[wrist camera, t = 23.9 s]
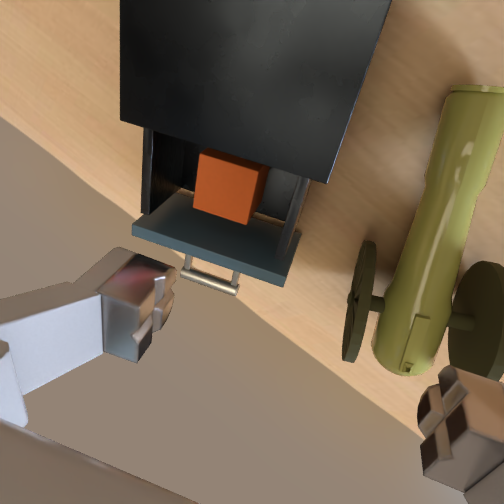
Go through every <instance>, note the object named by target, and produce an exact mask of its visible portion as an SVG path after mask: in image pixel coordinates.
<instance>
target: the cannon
mask: <svg viewBox="0 0 504 504" xmlns="http://www.w3.org/2000/svg"><path fill="white" fill-rule="evenodd" d="M450 91H452V93H451V94H450V95H448V96H447V97H446V98H445V102H444V105H443V109H442V113H441V116H440V120H439V124H438V127H437V131H436V135H435V138H434V142H433V146H432V149H431V153H430V157H429V160H428V164H427V168H426V171H425V175H424V176H425V188H424V191H423V194H422V197H421V199H420V202H419V205H418V208H417V211H416V214H415V216H414V219H413V222H412V225H411V228H410V231H409V233H408V236H407V239H406V242H405V245H404V248H403V250H402V253H401V256H400V259H399V262H398V265H397V267H396V270H395V273H394V276H393V279H392V281H391V282H390V284H389V285H388V286H387V288H386V289H385V292H384V295H383V297H378V296H374V295H372V290H373V283H374V275H375V266H376V244H375V242H372V241H366V240H364V241H363V243H362V246H361V249H360V252H359V256H358V259H357V263H356V267H355V272H354V276H353V281H352V286H351V291H350V293H349V294H348V299H347V303H348V307H347V313H346V320H345V327H344V334H343V344H342V360H343V361H347V362H351V363H354V362H355V360H356V358H357V356H358V353H359V350H360V347H361V343H362V340H363V336H364V332H365V327H366V323H367V318H368V313H369V310H371V311H375V312H379V314H378V318H377V322H376V326H375V329H374V333H373V337H372V341H371V347H372V351H373V354H374V356H375V358H376V359H377V360H378V362H379V363H380V364H381V365H382V366H383V367H384V368H385V369H387V370H388V371H390V372H392V373H394V374H397V375H400V376H408V377H409V376H417V375H421V374H423V373H425V372H426V371H428V370H429V369H430V368H431V367H432V366H433V364H434V361H435V358H436V355H437V353H438V350H439V347H440V344H441V341H442V338H443V336H444V333H445V330H446V327H449V332H448V352H449V361H450V365H452V366H455V367H458V368H460V369H463V370H466V371H469V372H472V373H475V374H478V375H481V376H484V377H486V378H489V379H492V380H494V381H499V380H500V378H501V377H502V375H503V373H504V267H503V266H501V265H500V264H497V263H493V262H487V261H480V262H477V263H475V264H474V265H472V266H471V268H470V269H469V270H468V271H467V272H466V274H465V275H464V277H463V279H462V281H461V283H460V285H459V287H458V290H457V292H456V295H455V298H454V302H453V306H452V294H453V290H454V286H455V282H456V278H457V274H458V270H459V267H460V263H461V259H462V255H463V251H464V247H465V243H466V239H467V236H468V232H469V228H470V224H471V220H472V216H473V212H474V208H475V205H476V201H477V197H478V195H479V193H480V192H481V191H482V190H483V188H484V187H485V186H486V183H487V180H488V177H489V174H490V171H491V168H492V165H493V162H494V159H495V156H496V153H497V150H498V148H499V145H500V142H501V139H502V136H503V133H504V87H496V86H483V85H452V86H451V89H450Z"/></svg>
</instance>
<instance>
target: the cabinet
mask: <svg viewBox="0 0 504 504" xmlns="http://www.w3.org/2000/svg"><path fill="white" fill-rule="evenodd" d="M391 2H392V0H120V120H121V121H124V122H127V123H131V124H134V125H137V126H140V127H144V128H147V129H150V130H153V131H156V132H160V133H163V134H166V135H169V136H173V137H176V138H179V139H182V140H186V141H189V142H192V143H195V144H198V145H202V146H205V147H208V148H211V149H215V150H218V151H221V152H224V153H227V154H231V155H234V156H237V157H240V158H244V159H247V160H250V161H253V162H257V163H260V164H263V165H266V166H269V167H273V168H276V169H279V170H282V171H286V172H289V173H292V174H295V175H298V176H302V177H305V178H308V179H311V180H315V181H318V182H321V183H324V184H327V183H328V181H329V178H330V175H331V172H332V170H333V167H334V164H335V161H336V158H337V155H338V153H339V150H340V147H341V144H342V141H343V138H344V136H345V133H346V130H347V127H348V124H349V121H350V119H351V116H352V113H353V110H354V107H355V104H356V102H357V99H358V96H359V93H360V90H361V87H362V84H363V82H364V79H365V76H366V73H367V70H368V67H369V65H370V62H371V59H372V56H373V53H374V50H375V48H376V45H377V42H378V39H379V36H380V33H381V31H382V28H383V25H384V22H385V19H386V16H387V14H388V11H389V8H390V5H391Z"/></svg>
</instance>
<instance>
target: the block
mask: <svg viewBox="0 0 504 504" xmlns="http://www.w3.org/2000/svg"><path fill="white" fill-rule="evenodd" d="M269 168H270V167H269V166H266V165H263V164H260V163H257V162H253V161H250V160H247V159H244V158H240V157H237V156H234V155H231V154H227V153H224V152H221V151H218V150H215V149H211V148H206V149H205V150H204V151H202V152H201V153H200V155H199V163H198V171H197V179H196V186H195V194H194V202H193V208H196V209H199V210H202V211H205V212H208V213H211V214H214V215H217V216H220V217H223V218H226V219H229V220H232V221H235V222H238V223H241V224H244V225H247V224H248V222H249V220H250V219H251V217H252V216H253V214H254V212H255V211H256V209H257V208H258V206H259V204H260V203H261V201H262V197H263V193H264V189H265V184H266V180H267V176H268V172H269Z"/></svg>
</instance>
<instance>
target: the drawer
mask: <svg viewBox="0 0 504 504" xmlns="http://www.w3.org/2000/svg"><path fill="white" fill-rule="evenodd" d="M206 148H208V147H205V146H202V145H198V144H195V143H192V142H189V141H186V140H182V139H179V138H176V137H173V136H169V135H166V134H163V133H160V132H156V131H153V130H150V129H147V128H144V132H143V161H142V190H141V213H143V214H144V215H142V216H141V217H140V218H139V219H138V220H136V221H135V222H134V223H133V224H132V235H133V236H136V237H139V238H142V239H145V240H147V241H151V242H153V243H156V244H159V245H162V246H165V247H168V248H170V249H173V250H176V251H179V252H182V253H185V254H186V256H185V264H184V266H183V268H182V270H181V273H180V276H181V277H182V278H185V279H188V280H190V281H193V282H196V283H199V284H201V285H204V286H207V287H210V288H213V289H216V290H218V291H222V292H224V293H227V294H230V295H232V296H236V295H237V293H238V290H239V287H240V284H238V280H239V276H240V273H242V274H245V275H248V276H251V277H254V278H257V279H259V280H262V281H265V282H268V283H271V284H274V285H277V286H280V287H284V284H285V281H286V278H287V275H288V272H289V269H290V266H291V263H292V261H293V258H294V255H295V252H296V249H297V246H298V243H299V240H300V237H301V233H298V232H295V229H296V226H297V224H298V221H299V218H300V215H301V211H302V208H303V205H304V202H305V199H306V196H307V193H308V190H309V187H310V184H311V181H312V180H311V179H308V178H305V177H302V176H298V175H295V174H292V173H289V172H286V171H282V170H279V169H276V168H273V167H270V168H269V172H268V176H267V180H266V184H265V189H264V193H263V197H262V201H261V203H260V204H259V206H258V208H257V209H256V211H255V212H258V213H261V214H264V215H267V216H270V217H273V218H276V219H279V220H282V221H285V223H284V226H283V228H282V227H279V226H276V225H273V224H270V223H267V222H264V221H261V220H258V219H255V218H252V217H251V219H250V220H249V222H248V224H247V225H244V224H241V223H238V222H235V221H232V220H229V219H226V218H223V217H220V216H217V215H214V214H211V213H208V212H205V211H202V210H199V209H196V208H193V202H194V198H191V197H188V196H185V195H182V194H179V193H176V192H177V191H178V190H179V189H180V188H184V189H187V190H190V191H193V192H195V186H196V179H197V171H198V163H199V155H200V153H201V152H202V151H204V150H205V149H206ZM193 257H196V258H199V259H202V260H205V261H208V262H211V263H214V264H216V265H219V266H222V267H225V268H228V269H231V270H234V272H233V276H232V281H229V280H226V279H223V278H221V277H218V276H215V275H212V274H209V273H206V272H203V271H201V270H198V269H195V268H192V260H193Z"/></svg>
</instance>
